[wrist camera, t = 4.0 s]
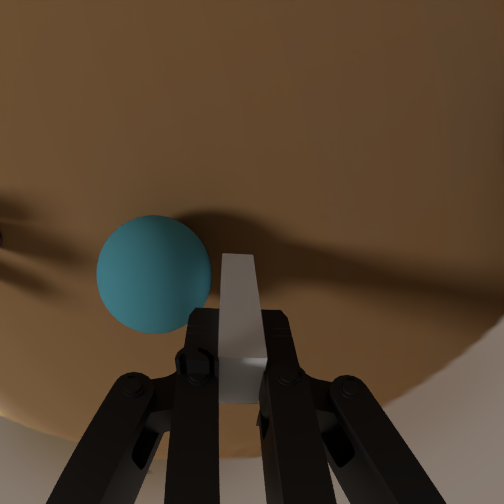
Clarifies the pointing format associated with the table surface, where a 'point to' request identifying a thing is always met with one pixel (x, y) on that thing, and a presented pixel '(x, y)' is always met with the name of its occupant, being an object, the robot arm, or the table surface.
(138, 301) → the ball
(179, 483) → the robot arm
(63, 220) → the table surface
